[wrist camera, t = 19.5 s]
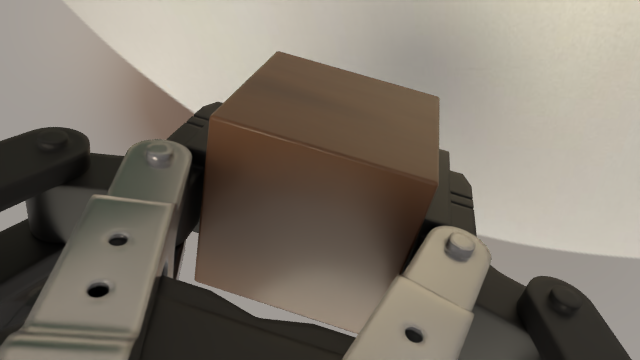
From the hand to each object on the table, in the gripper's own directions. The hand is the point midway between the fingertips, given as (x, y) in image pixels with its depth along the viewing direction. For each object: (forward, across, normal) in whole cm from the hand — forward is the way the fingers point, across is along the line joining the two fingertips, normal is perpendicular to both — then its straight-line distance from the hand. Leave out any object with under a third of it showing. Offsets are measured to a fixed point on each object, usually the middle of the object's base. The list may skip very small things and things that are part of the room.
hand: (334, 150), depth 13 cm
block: (0, 0, 0) cm, 0 cm away
